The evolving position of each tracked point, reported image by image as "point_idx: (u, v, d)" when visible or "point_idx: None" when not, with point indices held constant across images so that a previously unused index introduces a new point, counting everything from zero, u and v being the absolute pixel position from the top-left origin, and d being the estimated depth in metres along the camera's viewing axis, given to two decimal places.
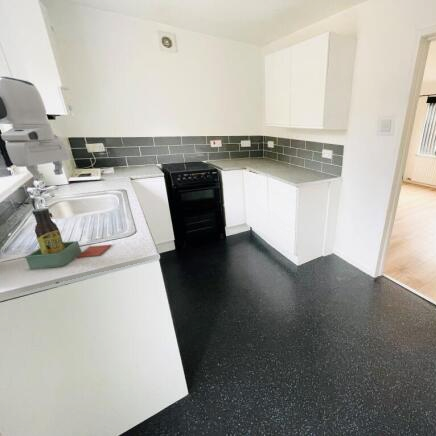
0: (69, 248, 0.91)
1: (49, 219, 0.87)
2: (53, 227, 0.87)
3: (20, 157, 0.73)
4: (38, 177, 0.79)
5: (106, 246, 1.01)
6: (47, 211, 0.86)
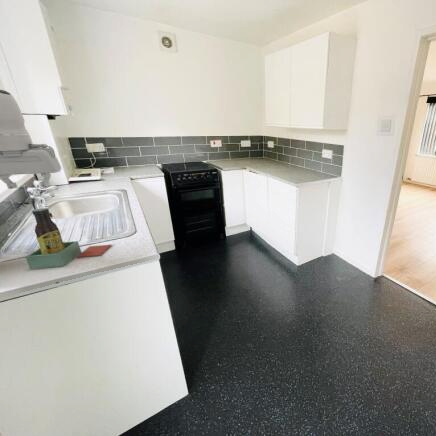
0: (69, 248, 0.91)
1: (49, 219, 0.87)
2: (53, 227, 0.87)
3: None
4: None
5: (106, 246, 1.01)
6: (47, 211, 0.86)
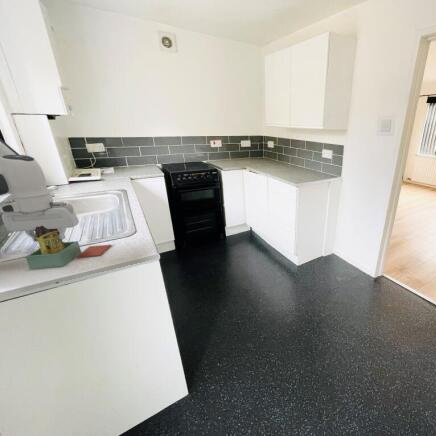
0: (69, 248, 0.91)
1: None
2: None
3: None
4: None
5: (106, 246, 1.01)
6: None
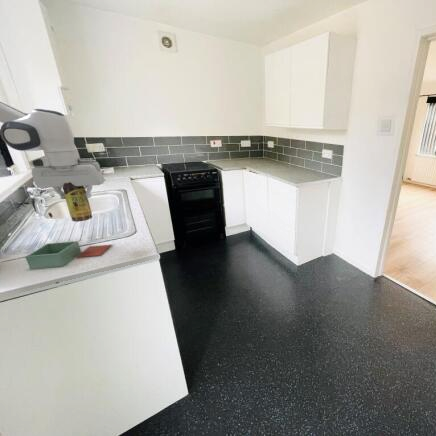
0: (69, 248, 0.91)
1: None
2: None
3: None
4: None
5: (106, 246, 1.01)
6: None
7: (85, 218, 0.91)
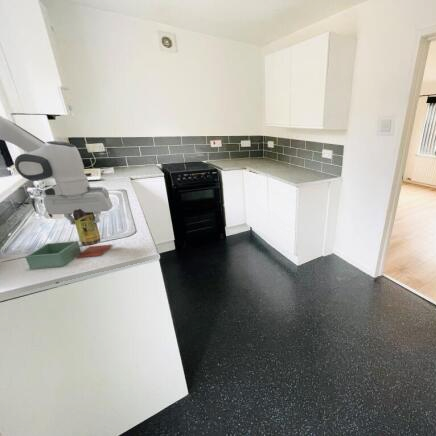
0: (69, 248, 0.91)
1: None
2: None
3: None
4: None
5: (106, 246, 1.01)
6: None
7: (94, 242, 0.95)
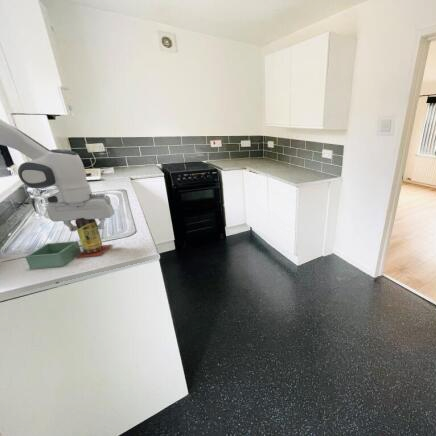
0: (69, 248, 0.91)
1: None
2: (92, 219, 0.93)
3: None
4: None
5: (106, 246, 1.01)
6: None
7: (96, 250, 0.96)
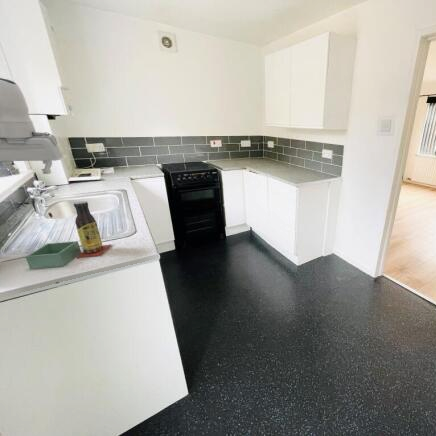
0: (69, 248, 0.91)
1: (88, 211, 0.93)
2: (92, 219, 0.93)
3: None
4: None
5: (106, 246, 1.01)
6: (87, 204, 0.92)
7: (96, 250, 0.96)
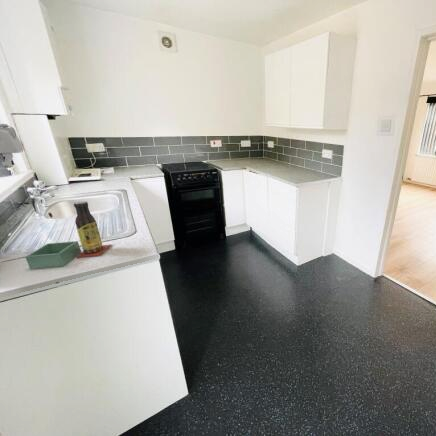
0: (69, 248, 0.91)
1: (88, 211, 0.93)
2: (92, 219, 0.93)
3: None
4: None
5: (106, 246, 1.01)
6: (87, 204, 0.92)
7: (96, 250, 0.96)
